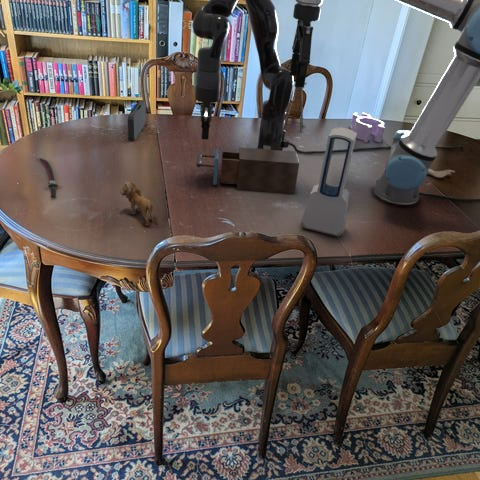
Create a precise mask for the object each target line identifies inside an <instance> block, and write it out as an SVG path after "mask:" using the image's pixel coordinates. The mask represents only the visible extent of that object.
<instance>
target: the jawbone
mask: <svg viewBox="0 0 480 480" xmlns="http://www.w3.org/2000/svg"><path fill="white" fill-rule="evenodd" d="M452 173H454V174H455V173H456V171H455V170H453V169H444V170H440V171H438V170H433V169H431V168H429V169H428V170H427V175H429V176H432V177H434V178H435V179H442V178H444V177H446V176H447V177H448V178H450V177H451V176H452Z"/></svg>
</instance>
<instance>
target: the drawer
mask: <svg viewBox="0 0 480 480" xmlns="http://www.w3.org/2000/svg"><path fill="white" fill-rule="evenodd" d="M219 152H220V149H219V148H214V154H213V155H212V154H211V155H210V154H202V153H200V152H199V153H197V157H196V167H197V168H201V167H205V168H206V167H207V168H213V177H212V185H215V186H216V185H218V184H217V183H218V169H219V154H220V153H219ZM221 155H222V157H221V166H220V167H221V170H220V184H228V185H236V184H237V179H238V169H239V151H229V150H222V154H221ZM202 158H211V159H214V160H213V161H214V163H213V164H209V163H208V164H207V163H202Z"/></svg>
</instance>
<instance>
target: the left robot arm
mask: <svg viewBox="0 0 480 480" xmlns="http://www.w3.org/2000/svg"><path fill="white" fill-rule="evenodd" d="M239 2H240V0H208V1H207V2H205V4H204V5H203V6H202V7H200V8H199V10H198V11H197V12H196V14H195V15H194V17H193V20H192V23H191V25H192V30H193V31H192V32H193V34H194V35H195V36H196V37H198V38H200V39H205V40H210V41H212V44H211V45H210V46H204V47H203V46H202V47H200V48H199V49H198V51H197V59H196V61H197V63H196V73H195V89H194V90H195V91H194V92H195V93H194V99H195V100H196V101H198V102H199V103H200V107H199V113H200V122H201V125H200V127H201V139H202V140H209V138H210V128H211V123H212V119H213V112H214V105H213V104H216V103H217V102H219V101H220V96H221V94H220V93H221V80H222V78H221V75H222V74H221V67H222V55H223V51H224V48H225V45H226V42H227V39H228V37H229V33H230V21H229V19H228V18H229V17H231V15H232V14H233V13H234V11H235V9H236V7H237V5H238V4H239ZM244 2H245V6H246V10H247V15H248V21H249V23H250V28H251V32H252V35H253V39H254V43H255V48H256V51H257V55H258V61H259V69H260V77H261V82H262V85H263V86H264V87H265V88H266V89H267V90H269V97H268V99H265V100H263V102H262V105H261V114H260V123H259V131H258V138H257V139H258V140H257V148H256V149H267V150H280V151H284V150H283V149H286V148H289V146H291V147H293V149H294V152H296V153H298V154H305V155H310V154H325V151H326V150H311V151H302V150H299V149H298V148H297V146H296V145H295V144H293V143H292V142H290V141H289V140H287V139H286V138H285V136H286V130H285V129H284V125H285V122H286V121H285V120H286V117H287V109H288V108H289V106H290V104H291V98H292V93H293V88H294V76H290V75H289V74H290V69H287V68H286V67H284V66H282V65H281V62H280V59H279V55H278V50H277V47H278V46H277V45H278V38H279V34H280V33H279V32H280V25H279V20H278V14H277V10H276V7H275V4H274V3H273V1H272V0H244ZM458 146H460V144H458ZM391 147H392V145H389V146H388V145H387V146H372V147H371V146H370V147H358V148H357V147H356V148H353V152H359V151H372V150H384V149H385V150H386V149H391ZM457 148H458V147H453V146H443V147H436V149H444V150H445V149H446V150H447V149H449V150H451V149H457ZM459 148H460V149H461V150H464V146H462V147H459ZM344 152H345V153H346V152H347V148H345V149H333V150H332V153H344Z"/></svg>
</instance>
